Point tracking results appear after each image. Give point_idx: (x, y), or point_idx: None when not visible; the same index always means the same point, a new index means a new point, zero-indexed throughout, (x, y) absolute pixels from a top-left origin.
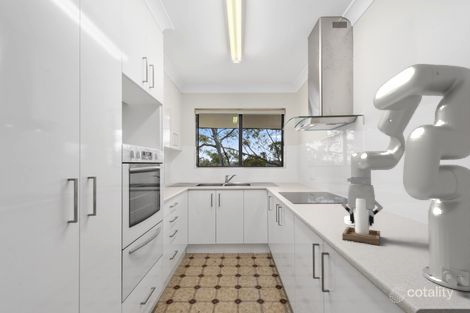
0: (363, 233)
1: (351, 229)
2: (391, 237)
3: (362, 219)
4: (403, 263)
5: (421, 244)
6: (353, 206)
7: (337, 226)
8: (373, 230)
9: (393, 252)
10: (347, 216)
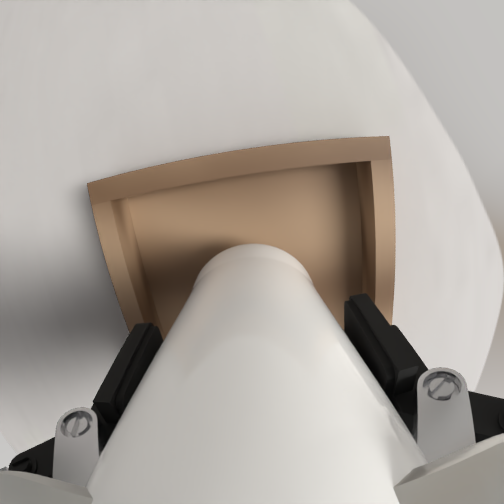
0: (224, 250)
1: None
2: None
3: (213, 317)
4: (8, 14)
5: (13, 353)
6: (473, 489)
7: None
8: None
9: (32, 116)
10: None
